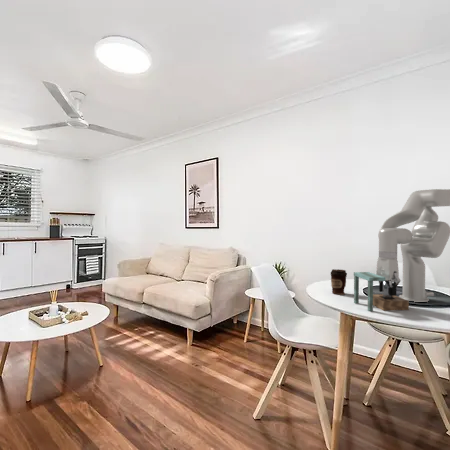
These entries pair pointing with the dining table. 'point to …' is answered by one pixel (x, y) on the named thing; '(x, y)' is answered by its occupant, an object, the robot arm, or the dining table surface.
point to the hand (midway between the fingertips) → (387, 293)
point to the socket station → (377, 299)
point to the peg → (386, 290)
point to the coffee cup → (338, 281)
